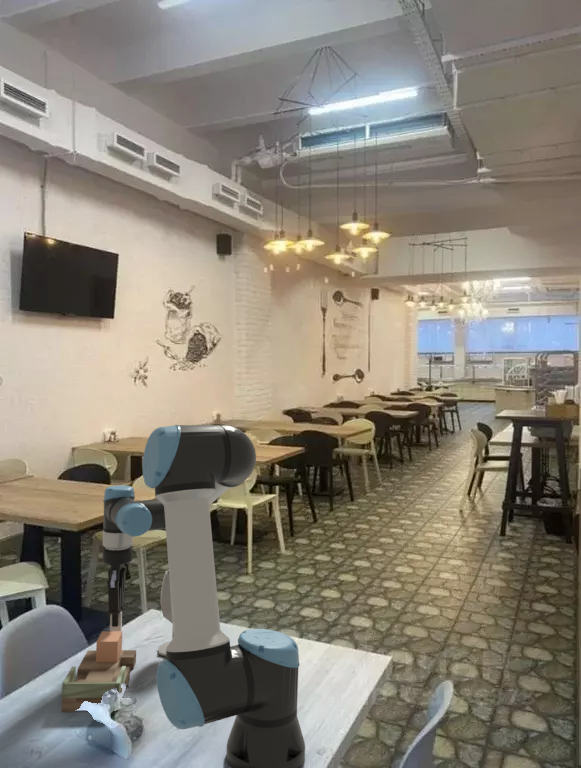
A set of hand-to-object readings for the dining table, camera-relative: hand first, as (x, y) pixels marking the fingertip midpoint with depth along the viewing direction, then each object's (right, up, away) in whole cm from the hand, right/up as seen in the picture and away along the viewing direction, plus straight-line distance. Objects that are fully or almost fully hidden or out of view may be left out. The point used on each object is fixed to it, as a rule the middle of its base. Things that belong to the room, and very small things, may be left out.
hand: (115, 636), depth 161 cm
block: (+1, -2, -8) cm, 8 cm away
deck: (+1, -5, -16) cm, 17 cm away
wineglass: (+15, -5, +3) cm, 16 cm away
